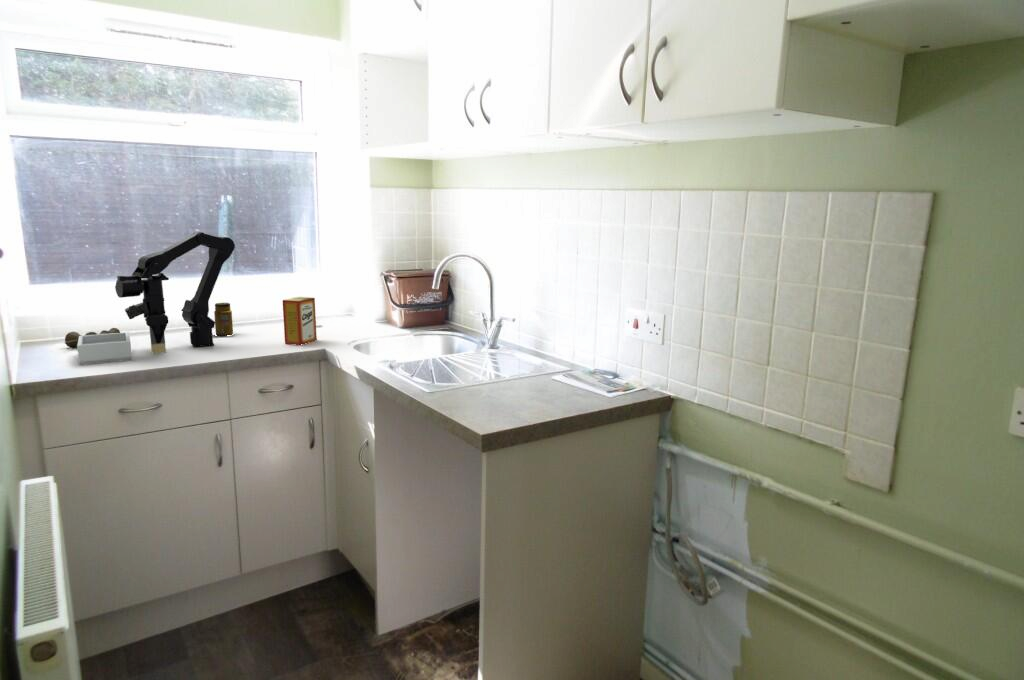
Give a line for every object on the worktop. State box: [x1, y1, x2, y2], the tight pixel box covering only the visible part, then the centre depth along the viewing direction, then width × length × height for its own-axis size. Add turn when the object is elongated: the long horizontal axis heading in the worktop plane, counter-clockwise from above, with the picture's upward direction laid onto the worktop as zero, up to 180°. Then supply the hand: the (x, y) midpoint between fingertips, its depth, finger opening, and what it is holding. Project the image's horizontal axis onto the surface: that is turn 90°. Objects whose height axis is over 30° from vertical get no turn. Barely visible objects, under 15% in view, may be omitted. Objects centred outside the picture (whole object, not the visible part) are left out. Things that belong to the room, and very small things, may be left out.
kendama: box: [64, 327, 121, 348], centre depth 231 cm, size 6×10×20 cm
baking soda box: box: [282, 296, 318, 346], centre depth 239 cm, size 10×6×16 cm
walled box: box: [76, 331, 133, 366], centre depth 214 cm, size 14×18×6 cm
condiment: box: [212, 302, 234, 338], centre depth 251 cm, size 7×8×12 cm
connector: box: [148, 326, 167, 354], centre depth 222 cm, size 4×4×9 cm
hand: (157, 341), depth 222 cm, fingers open, 6 cm apart
